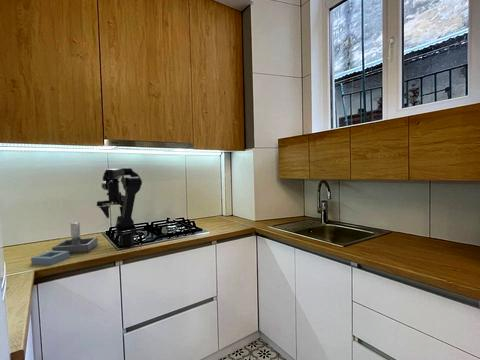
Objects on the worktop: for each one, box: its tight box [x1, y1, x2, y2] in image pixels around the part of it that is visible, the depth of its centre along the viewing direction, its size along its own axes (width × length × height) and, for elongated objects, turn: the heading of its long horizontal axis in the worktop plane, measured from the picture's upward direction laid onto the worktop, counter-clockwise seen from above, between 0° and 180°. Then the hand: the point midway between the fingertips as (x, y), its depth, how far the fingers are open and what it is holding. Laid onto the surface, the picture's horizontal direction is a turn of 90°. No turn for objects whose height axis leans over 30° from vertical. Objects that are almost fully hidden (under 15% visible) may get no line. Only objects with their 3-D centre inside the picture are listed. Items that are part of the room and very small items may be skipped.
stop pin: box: [69, 221, 82, 245], centre depth 136 cm, size 4×4×13 cm
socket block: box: [30, 250, 71, 266], centre depth 121 cm, size 10×10×3 cm
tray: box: [51, 236, 99, 255], centre depth 137 cm, size 16×14×4 cm
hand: (115, 218), depth 151 cm, fingers open, 9 cm apart
